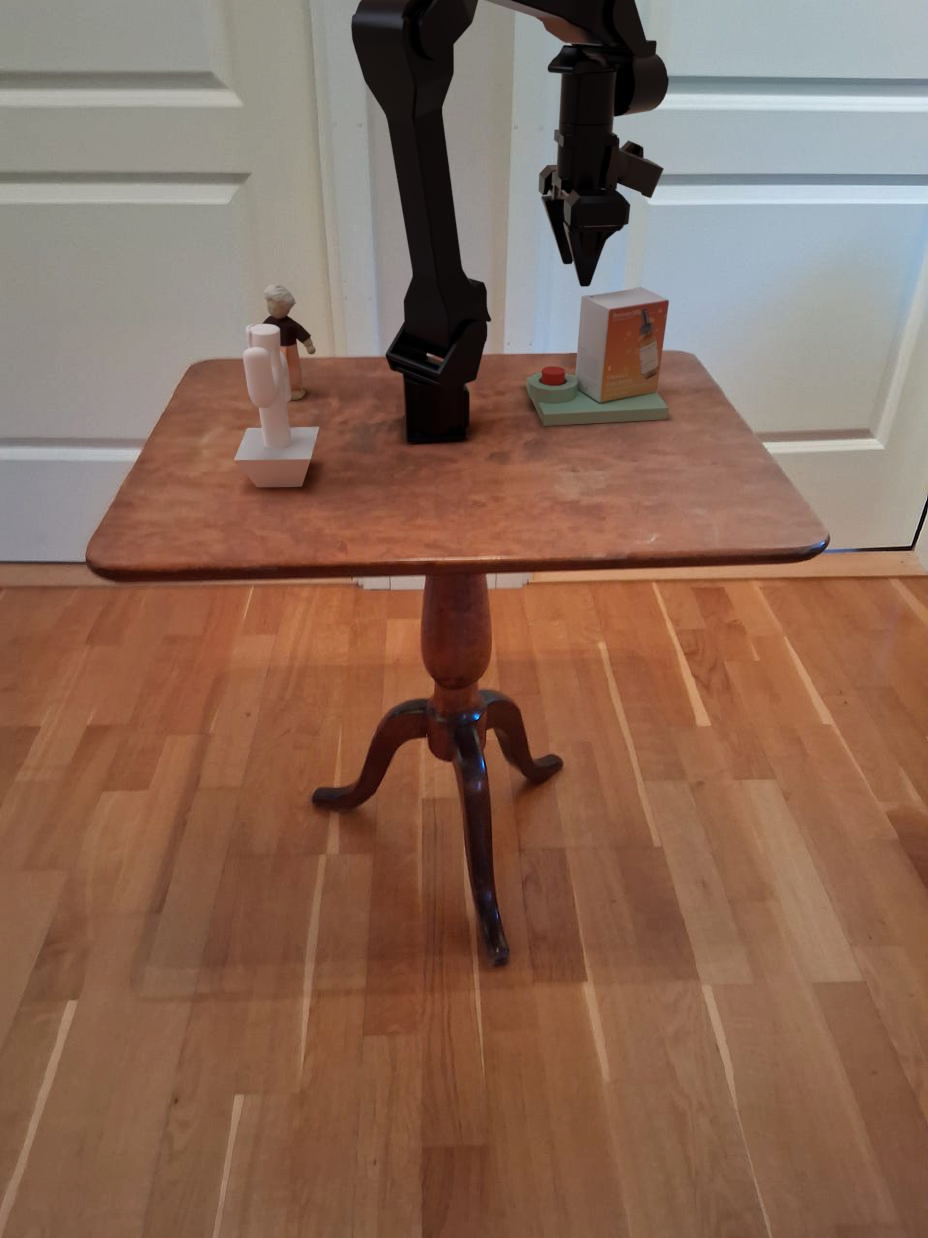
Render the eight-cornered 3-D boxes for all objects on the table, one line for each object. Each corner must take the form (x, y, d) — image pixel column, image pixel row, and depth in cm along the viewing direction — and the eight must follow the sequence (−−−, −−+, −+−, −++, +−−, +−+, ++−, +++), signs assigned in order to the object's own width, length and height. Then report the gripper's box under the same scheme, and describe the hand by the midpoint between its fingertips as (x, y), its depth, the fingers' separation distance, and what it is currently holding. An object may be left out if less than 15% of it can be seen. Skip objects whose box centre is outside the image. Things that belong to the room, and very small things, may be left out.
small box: (599, 404, 100) (607, 309, 93) (573, 387, 104) (579, 294, 97) (658, 392, 102) (670, 298, 96) (631, 376, 106) (641, 285, 100)
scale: (536, 426, 98) (537, 400, 97) (520, 388, 107) (520, 363, 105) (667, 419, 100) (670, 393, 98) (640, 382, 108) (642, 357, 107)
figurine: (324, 455, 93) (308, 309, 84) (313, 499, 85) (294, 343, 76) (254, 456, 93) (231, 310, 84) (237, 500, 85) (210, 344, 76)
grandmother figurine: (254, 398, 105) (237, 287, 98) (266, 386, 108) (251, 278, 101) (315, 403, 104) (303, 292, 96) (327, 391, 107) (316, 282, 99)
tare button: (543, 388, 100) (544, 374, 99) (539, 379, 102) (540, 366, 101) (566, 387, 101) (567, 373, 100) (561, 378, 103) (562, 365, 102)
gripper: (688, 133, 87) (667, 295, 97) (636, 108, 102) (623, 251, 112) (576, 135, 86) (566, 300, 96) (540, 110, 101) (535, 254, 111)
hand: (575, 274), depth 103 cm, fingers open, 9 cm apart
